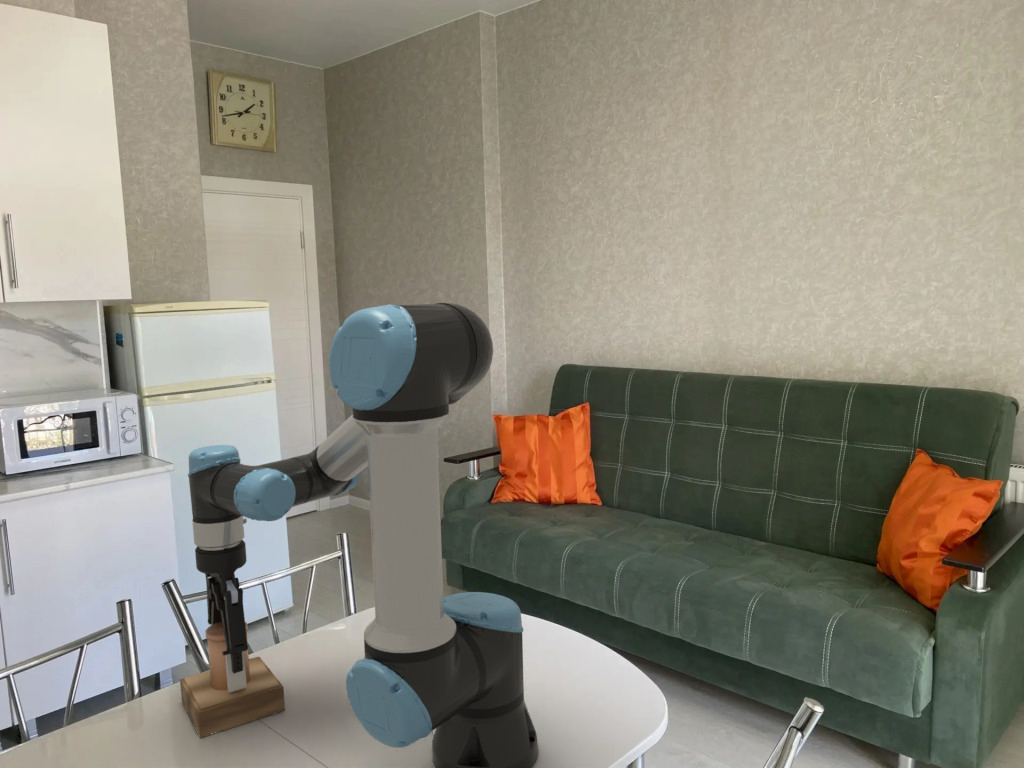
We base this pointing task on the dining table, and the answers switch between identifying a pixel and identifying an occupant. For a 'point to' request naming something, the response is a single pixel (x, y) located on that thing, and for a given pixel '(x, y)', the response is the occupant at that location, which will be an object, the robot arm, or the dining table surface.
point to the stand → (232, 699)
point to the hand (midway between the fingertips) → (230, 678)
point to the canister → (221, 656)
